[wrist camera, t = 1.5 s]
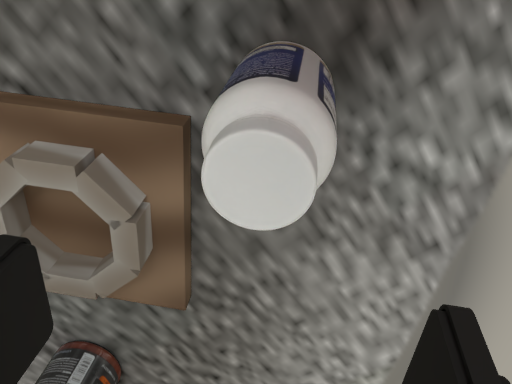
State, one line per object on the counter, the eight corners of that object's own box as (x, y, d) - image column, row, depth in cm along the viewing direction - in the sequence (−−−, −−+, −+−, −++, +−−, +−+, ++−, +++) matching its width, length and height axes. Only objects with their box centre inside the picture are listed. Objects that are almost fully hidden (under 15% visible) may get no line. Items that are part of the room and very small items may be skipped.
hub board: (-42, 86, 25) (-94, 107, 22) (190, 116, 24) (169, 143, 21) (11, 265, 33) (-22, 301, 30) (191, 295, 32) (176, 335, 28)
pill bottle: (215, 105, 24) (154, 199, 15) (265, 17, 21) (224, 73, 13) (297, 156, 24) (281, 270, 16) (356, 77, 22) (372, 166, 14)
